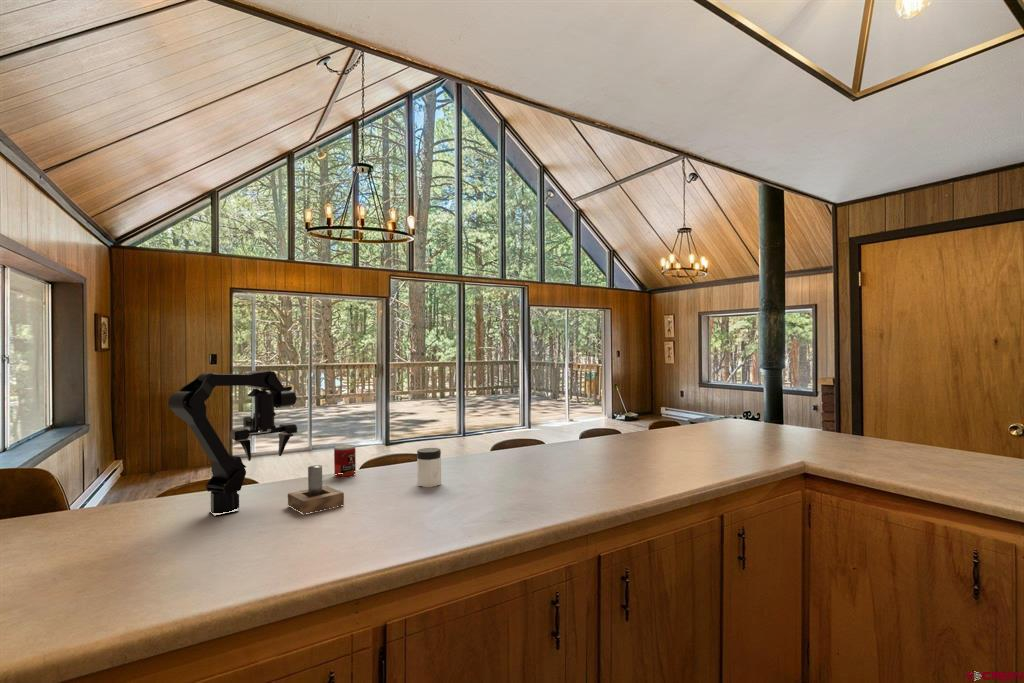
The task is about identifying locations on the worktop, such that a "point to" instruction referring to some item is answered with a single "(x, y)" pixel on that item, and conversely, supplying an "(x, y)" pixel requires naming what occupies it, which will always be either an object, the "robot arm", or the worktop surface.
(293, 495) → the wooden socket block
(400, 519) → the worktop surface
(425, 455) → the jar
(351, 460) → the canned food
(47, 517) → the worktop surface
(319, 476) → the grey upright bar
